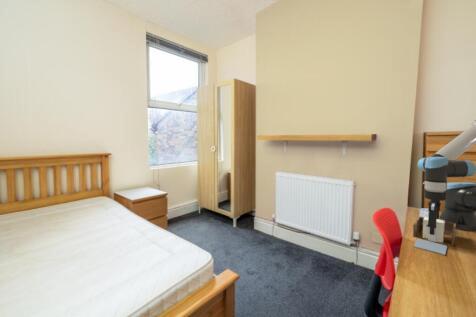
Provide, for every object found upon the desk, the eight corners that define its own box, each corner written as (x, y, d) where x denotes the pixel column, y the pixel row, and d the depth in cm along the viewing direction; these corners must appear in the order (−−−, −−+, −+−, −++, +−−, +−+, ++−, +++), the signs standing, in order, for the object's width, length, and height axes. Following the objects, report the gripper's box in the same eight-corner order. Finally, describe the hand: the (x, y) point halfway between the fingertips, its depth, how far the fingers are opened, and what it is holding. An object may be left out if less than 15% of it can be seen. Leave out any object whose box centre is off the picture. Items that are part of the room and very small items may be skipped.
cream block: (424, 234, 104) (424, 216, 103) (444, 239, 99) (444, 220, 98) (422, 237, 101) (423, 219, 100) (442, 242, 96) (443, 223, 95)
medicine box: (438, 229, 109) (439, 213, 108) (428, 229, 110) (429, 212, 109) (428, 223, 117) (428, 208, 116) (418, 223, 118) (419, 207, 117)
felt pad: (417, 239, 99) (417, 238, 99) (447, 246, 92) (447, 245, 92) (413, 246, 93) (413, 245, 93) (445, 255, 85) (445, 254, 85)
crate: (418, 227, 112) (418, 216, 111) (455, 235, 102) (455, 223, 101) (413, 236, 102) (413, 224, 102) (453, 246, 92) (453, 233, 92)
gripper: (427, 185, 107) (425, 229, 109) (420, 193, 94) (418, 242, 96) (448, 187, 102) (446, 233, 104) (444, 196, 88) (441, 248, 90)
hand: (433, 237), depth 100 cm, fingers open, 7 cm apart
